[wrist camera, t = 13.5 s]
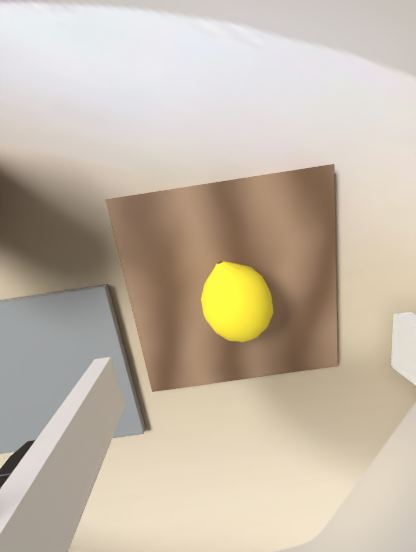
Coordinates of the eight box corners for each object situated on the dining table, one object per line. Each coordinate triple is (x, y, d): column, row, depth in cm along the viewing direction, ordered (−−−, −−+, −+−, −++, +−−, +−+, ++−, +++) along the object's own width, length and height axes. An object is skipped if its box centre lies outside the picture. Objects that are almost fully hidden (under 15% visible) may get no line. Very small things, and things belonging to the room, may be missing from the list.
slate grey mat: (-2, 447, 26) (-8, 454, 26) (-66, 310, 22) (-75, 313, 22) (145, 427, 26) (143, 433, 25) (107, 284, 22) (104, 286, 21)
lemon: (270, 309, 22) (293, 347, 17) (214, 329, 23) (222, 371, 18) (248, 239, 20) (268, 260, 15) (186, 262, 20) (185, 290, 15)
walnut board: (154, 384, 25) (152, 391, 24) (110, 200, 20) (105, 199, 19) (332, 359, 24) (337, 365, 23) (327, 166, 20) (334, 164, 19)
